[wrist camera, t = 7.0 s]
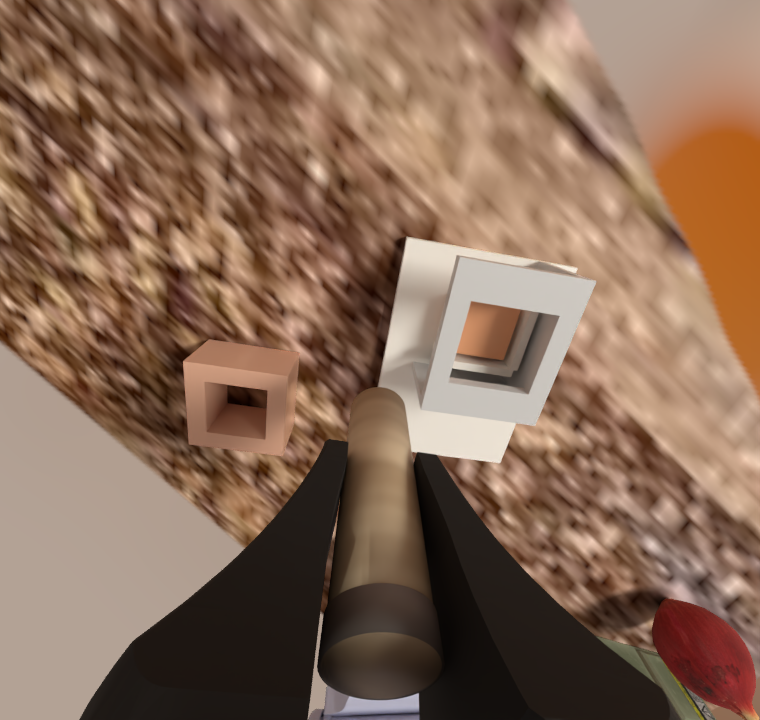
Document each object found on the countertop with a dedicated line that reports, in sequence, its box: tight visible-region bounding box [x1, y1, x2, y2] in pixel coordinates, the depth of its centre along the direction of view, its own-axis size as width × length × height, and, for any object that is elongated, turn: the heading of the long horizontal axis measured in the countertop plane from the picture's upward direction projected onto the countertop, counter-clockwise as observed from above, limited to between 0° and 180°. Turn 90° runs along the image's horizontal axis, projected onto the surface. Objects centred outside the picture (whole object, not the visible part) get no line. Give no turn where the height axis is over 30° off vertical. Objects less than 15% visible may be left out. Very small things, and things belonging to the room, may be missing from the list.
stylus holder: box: [183, 339, 300, 456], centre depth 20 cm, size 5×5×3 cm
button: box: [457, 301, 521, 360], centre depth 18 cm, size 3×3×2 cm
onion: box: [652, 598, 759, 720], centre depth 27 cm, size 6×6×8 cm
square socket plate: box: [378, 236, 596, 463], centre depth 19 cm, size 13×9×5 cm
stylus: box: [317, 387, 445, 700], centre depth 10 cm, size 2×2×8 cm
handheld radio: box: [596, 636, 716, 720], centre depth 30 cm, size 7×3×25 cm
